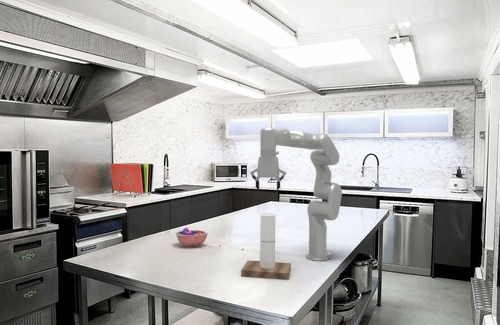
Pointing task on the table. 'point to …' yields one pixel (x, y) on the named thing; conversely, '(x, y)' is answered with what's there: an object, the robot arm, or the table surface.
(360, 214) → the table surface
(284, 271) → the walnut base board
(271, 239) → the cylindrical container
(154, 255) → the table surface
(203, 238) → the cell model
